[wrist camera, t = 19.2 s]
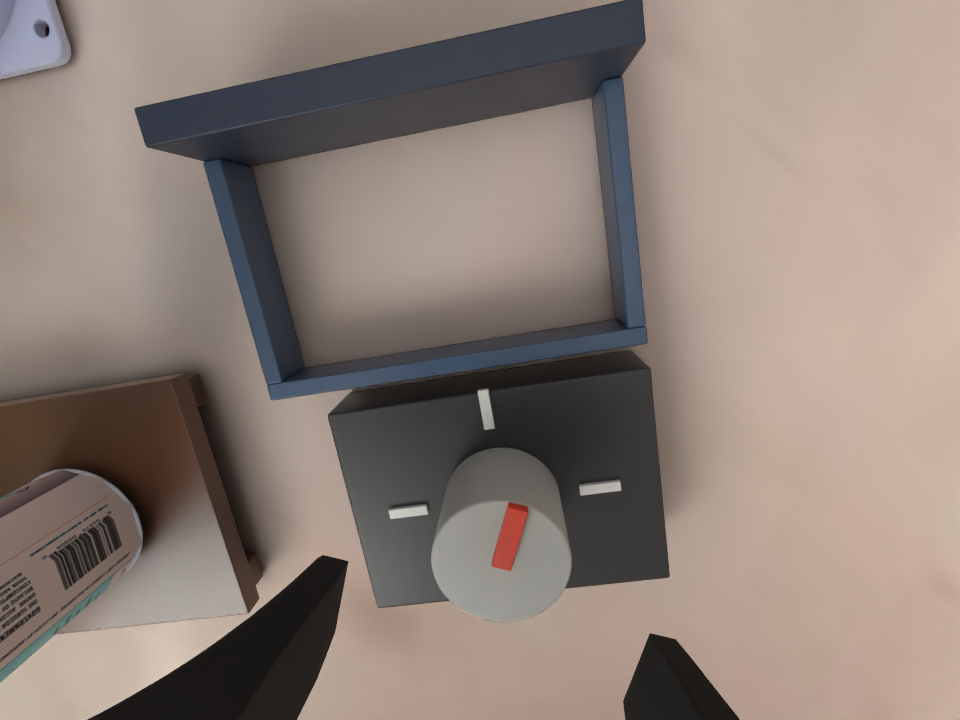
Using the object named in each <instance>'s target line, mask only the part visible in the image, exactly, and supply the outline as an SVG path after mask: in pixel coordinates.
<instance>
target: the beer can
mask: <svg viewBox="0 0 960 720" xmlns="http://www.w3.org/2000/svg"><path fill="white" fill-rule="evenodd" d="M142 543H143V531H142V527H141V523H140V519H139V515H138V513H137V511H136V509H135V507H134V506H133V504H132V503H131V502H130V501H129V500H128V499H127V498H126V496H125V495H124V494H123V493H122V492H121V491H120V490H119V489H118V488H117V487H116V486H114V485H113V484H111V483H110V482H109V481H107V480H106V479H104V478H102V477H100V476H97V475H95V474H92V473H90V472H87V471H82V470H76V469H59V470H53V471H50V472H48V473H45V474H42V475H40V476H39V477H37V478H36V479H34V480H33V481H31V482H30V483H28V484H26V485H24V486H22V487H20V488H19V489H17V490H15V491H13V492H11V493H9V494H7V495H5V496H3V497H1V498H0V682H2V681H3V680H4V679H5V678H6V677H7V676H8V675H10V674H11V673H12V672H13V671H14V670H15V669H16V668H18V667H19V666H20V665H21V664H22V663H23V662H24V661H26V660H27V659H28V658H29V657H30V656H31V655H32V654H34V653H35V652H36V651H37V650H38V649H39V648H40V647H42V646H43V645H44V644H45V643H46V642H47V641H48V640H50V639H51V638H52V637H53V636H54V635H55V634H56V633H58V632H59V631H60V630H61V629H62V628H63V627H64V626H66V625H67V624H68V623H69V622H70V621H71V620H72V619H74V618H75V617H76V616H77V615H78V614H79V613H80V612H82V611H83V610H84V609H85V608H86V607H87V606H88V605H90V604H91V603H92V602H93V601H94V600H95V599H96V598H98V597H99V596H100V595H101V594H102V593H103V592H104V591H106V590H107V589H108V588H109V587H110V586H111V585H112V584H114V583H115V582H116V581H117V580H118V579H119V578H120V577H122V576H123V575H124V574H125V573H126V572H127V571H128V570H129V569H130V568H131V567H132V566H133V565H134V563H135V562H136V560H137V559H138V557H139V555H140V552H141V549H142Z"/></svg>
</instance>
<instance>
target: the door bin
mask: <svg viewBox="0 0 960 720" xmlns="http://www.w3.org/2000/svg"><path fill="white" fill-rule="evenodd" d="M645 41H646V38H645V26H644V14H643V2H642V0H625V1H620V2H615V3H611V4H606V5H602V6H597V7H593V8H588V9H584V10H579V11H574V12H570V13H565V14H561V15H556V16H552V17H547V18H543V19H538V20H533V21H529V22H524V23H520V24H515V25H511V26H506V27H502V28H497V29H492V30H488V31H483V32H479V33H474V34H470V35H465V36H460V37H456V38H451V39H447V40H442V41H438V42H433V43H429V44H424V45H419V46H415V47H410V48H406V49H401V50H397V51H392V52H388V53H383V54H378V55H374V56H369V57H365V58H360V59H356V60H351V61H347V62H342V63H337V64H333V65H328V66H324V67H319V68H315V69H310V70H306V71H301V72H296V73H292V74H287V75H283V76H278V77H274V78H269V79H264V80H260V81H255V82H251V83H246V84H242V85H237V86H233V87H228V88H223V89H219V90H214V91H210V92H205V93H201V94H196V95H192V96H187V97H182V98H178V99H173V100H169V101H164V102H160V103H155V104H151V105H146V106H141V107H137V108H135V113H136V116H137V119H138V122H139V126H140V129H141V132H142V135H143V139H144V142H145V145H146V147H148V148H152V149H157V150H161V151H165V152H169V153H173V154H177V155H181V156H185V157H189V158H193V159H197V160H201V161H205V162H204V163H203V164H204V167H205V171H206V174H207V178H208V181H209V185H210V188H211V191H212V195H213V198H214V202H215V205H216V209H217V212H218V216H219V219H220V223H221V226H222V230H223V233H224V237H225V240H226V244H227V247H228V251H229V254H230V258H231V261H232V265H233V268H234V272H235V275H236V279H237V282H238V286H239V289H240V293H241V296H242V300H243V303H244V307H245V310H246V314H247V317H248V321H249V324H250V327H251V331H252V334H253V338H254V341H255V345H256V348H257V352H258V355H259V359H260V362H261V366H262V369H263V373H264V376H265V380H266V383H267V384H268V385H267V387H268V391H269V394H270V398H271V400H279V399H285V398H292V397H298V396H305V395H312V394H318V393H325V392H331V391H338V390H345V389H351V388H358V387H364V386H371V385H378V384H384V383H391V382H397V381H404V380H411V379H417V378H424V377H430V376H437V375H444V374H450V373H457V372H463V371H470V370H477V369H483V368H490V367H496V366H503V365H510V364H516V363H523V362H529V361H536V360H543V359H549V358H556V357H562V356H569V355H576V354H582V353H589V352H595V351H602V350H609V349H615V348H622V347H628V346H635V345H642V344H647V342H648V341H647V331H646V326H645V324H646V322H645V311H644V300H643V290H642V279H641V268H640V257H639V247H638V236H637V225H636V214H635V204H634V193H633V182H632V171H631V161H630V150H629V139H628V128H627V118H626V107H625V96H624V86H623V78H622V77H621V76H622V75H623V73H624V72H625V70H626V69H627V68H628V66H629V65H630V63H631V62H632V60H633V59H634V58H635V56H636V55H637V53H638V52H639V50H640V49H641V48H642V46H643V45H644V43H645ZM588 98H592V106H593V115H594V124H595V134H596V143H597V152H598V161H599V171H600V180H601V189H602V199H603V208H604V217H605V226H606V236H607V245H608V254H609V264H610V273H611V282H612V291H613V301H614V310H615V318H616V319H614V320H608V321H601V322H595V323H589V324H582V325H576V326H570V327H563V328H557V329H550V330H544V331H538V332H531V333H525V334H519V335H512V336H506V337H500V338H493V339H487V340H480V341H474V342H468V343H461V344H455V345H449V346H442V347H436V348H430V349H423V350H417V351H411V352H404V353H398V354H391V355H385V356H379V357H372V358H366V359H360V360H353V361H347V362H341V363H334V364H328V365H321V366H315V367H309V368H304V364H303V360H302V356H301V352H300V349H299V345H298V341H297V337H296V333H295V330H294V326H293V322H292V318H291V315H290V311H289V307H288V303H287V300H286V296H285V292H284V288H283V285H282V281H281V277H280V273H279V269H278V266H277V262H276V258H275V254H274V251H273V247H272V243H271V239H270V236H269V232H268V228H267V224H266V220H265V217H264V213H263V209H262V205H261V202H260V198H259V194H258V190H257V187H256V183H255V179H254V175H253V172H252V168H251V166H255V165H260V164H265V163H270V162H275V161H280V160H285V159H290V158H295V157H300V156H305V155H310V154H315V153H320V152H325V151H330V150H335V149H340V148H345V147H350V146H355V145H360V144H365V143H370V142H375V141H379V140H384V139H389V138H394V137H399V136H404V135H409V134H414V133H419V132H424V131H429V130H434V129H439V128H444V127H449V126H454V125H459V124H464V123H469V122H474V121H479V120H484V119H489V118H494V117H498V116H503V115H508V114H513V113H518V112H523V111H528V110H533V109H538V108H543V107H548V106H553V105H558V104H563V103H568V102H573V101H578V100H583V99H588Z"/></svg>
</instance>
